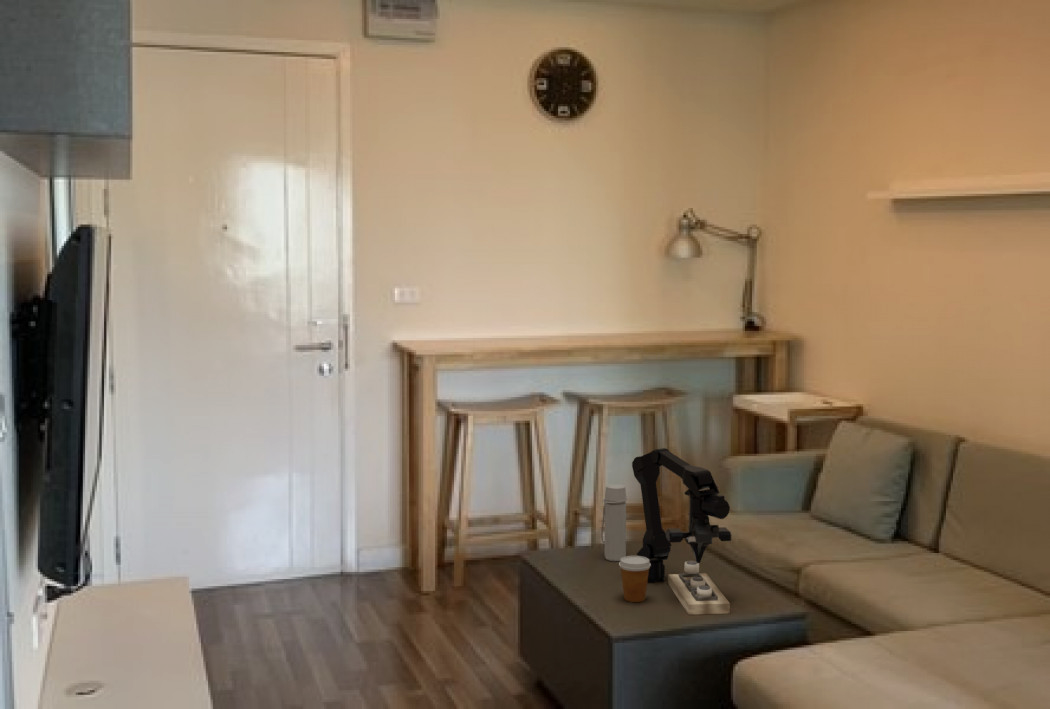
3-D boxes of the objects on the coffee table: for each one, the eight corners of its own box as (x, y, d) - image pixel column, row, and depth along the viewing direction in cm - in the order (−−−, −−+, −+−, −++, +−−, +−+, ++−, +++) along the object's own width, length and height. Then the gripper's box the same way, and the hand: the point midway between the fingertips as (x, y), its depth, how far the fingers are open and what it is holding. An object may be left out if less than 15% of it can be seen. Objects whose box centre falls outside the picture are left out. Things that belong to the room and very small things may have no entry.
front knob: (698, 599, 311) (698, 589, 311) (695, 594, 315) (695, 584, 315) (713, 598, 311) (713, 589, 311) (709, 593, 316) (709, 584, 315)
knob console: (688, 614, 307) (688, 601, 307) (668, 583, 335) (668, 571, 335) (729, 613, 308) (729, 599, 308) (705, 582, 336) (706, 570, 336)
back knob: (686, 573, 327) (686, 564, 326) (683, 569, 331) (683, 560, 331) (700, 573, 327) (700, 564, 327) (697, 568, 331) (697, 559, 331)
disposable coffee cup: (629, 606, 315) (630, 566, 314) (612, 596, 323) (612, 557, 322) (656, 600, 319) (657, 561, 318) (639, 591, 328) (639, 553, 326)
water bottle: (630, 558, 362) (631, 485, 359) (617, 563, 356) (618, 490, 353) (607, 553, 368) (608, 482, 365) (595, 558, 362) (595, 486, 359)
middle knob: (692, 590, 319) (692, 581, 319) (688, 585, 323) (689, 576, 323) (706, 589, 319) (706, 580, 319) (703, 585, 324) (703, 576, 323)
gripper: (673, 519, 310) (673, 571, 312) (736, 518, 312) (736, 570, 313) (665, 510, 321) (665, 560, 323) (726, 508, 323) (725, 559, 324)
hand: (698, 562), depth 321 cm, fingers closed
